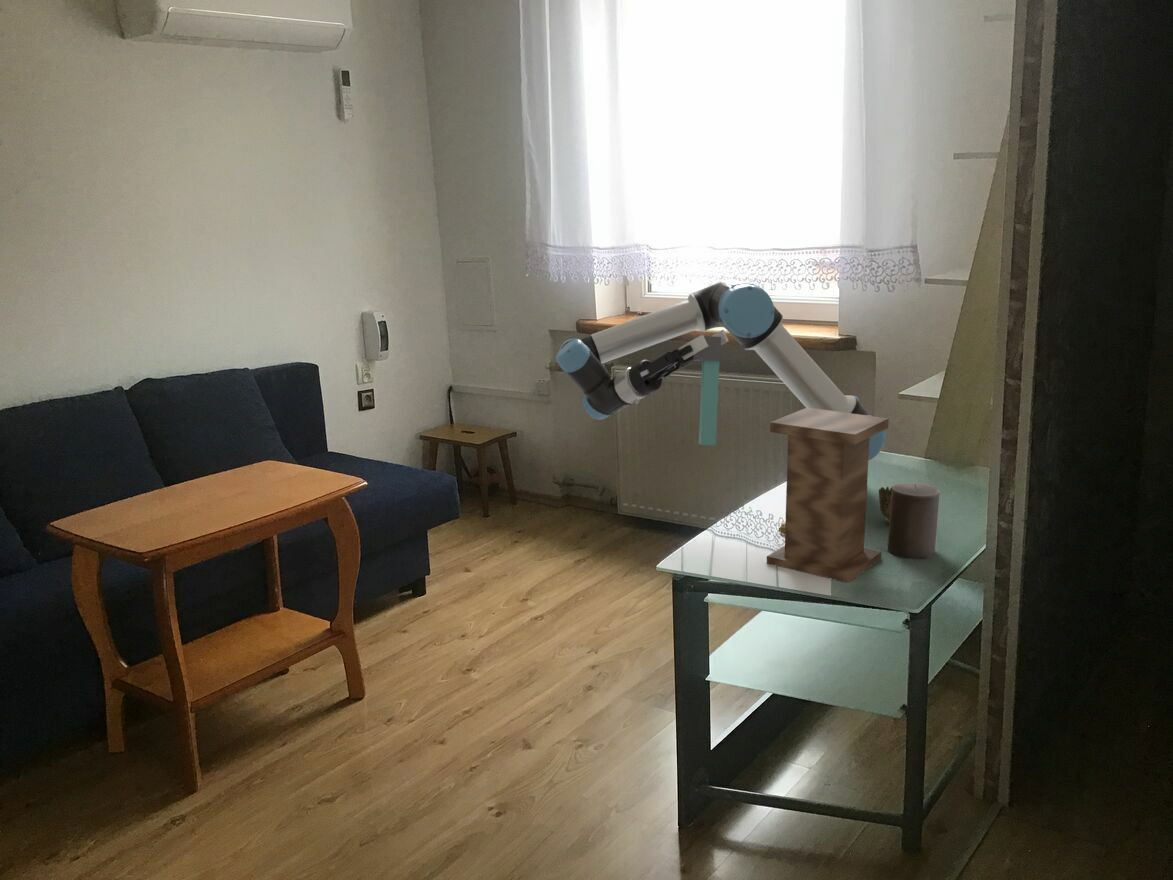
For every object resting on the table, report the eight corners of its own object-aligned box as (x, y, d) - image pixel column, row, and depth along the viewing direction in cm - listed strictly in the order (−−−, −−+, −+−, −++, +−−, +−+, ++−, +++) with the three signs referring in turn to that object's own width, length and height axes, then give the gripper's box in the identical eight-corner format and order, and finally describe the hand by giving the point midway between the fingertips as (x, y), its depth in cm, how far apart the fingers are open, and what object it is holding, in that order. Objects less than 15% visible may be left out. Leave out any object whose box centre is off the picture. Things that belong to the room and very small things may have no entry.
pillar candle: (890, 558, 219) (895, 489, 215) (884, 541, 228) (889, 475, 224) (939, 560, 217) (945, 491, 214) (930, 543, 227) (936, 477, 223)
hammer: (716, 445, 223) (693, 444, 223) (712, 444, 228) (689, 443, 228) (721, 336, 222) (697, 335, 222) (717, 338, 227) (694, 337, 227)
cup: (912, 530, 235) (914, 496, 233) (878, 528, 236) (880, 494, 234) (909, 519, 242) (911, 486, 240) (876, 518, 243) (877, 485, 241)
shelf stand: (766, 563, 217) (770, 422, 210) (802, 541, 229) (806, 407, 222) (848, 582, 206) (855, 434, 199) (881, 558, 218) (888, 418, 211)
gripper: (671, 388, 245) (746, 347, 230) (619, 404, 229) (696, 361, 215) (657, 359, 245) (732, 316, 231) (605, 373, 230) (681, 328, 215)
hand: (715, 338), depth 223 cm, fingers closed on hammer, 8 cm apart
